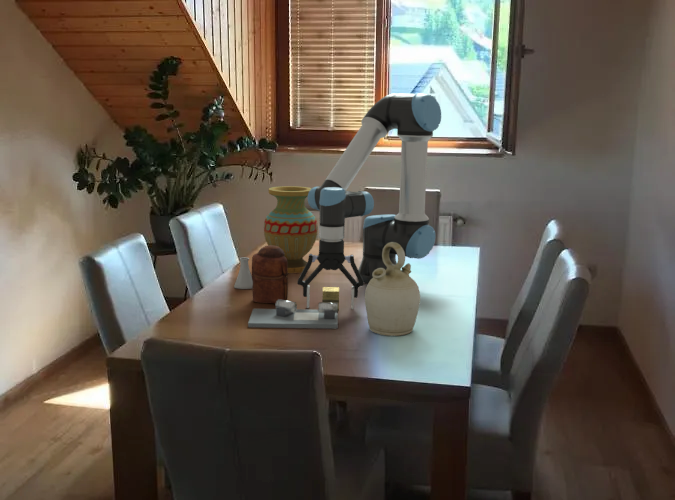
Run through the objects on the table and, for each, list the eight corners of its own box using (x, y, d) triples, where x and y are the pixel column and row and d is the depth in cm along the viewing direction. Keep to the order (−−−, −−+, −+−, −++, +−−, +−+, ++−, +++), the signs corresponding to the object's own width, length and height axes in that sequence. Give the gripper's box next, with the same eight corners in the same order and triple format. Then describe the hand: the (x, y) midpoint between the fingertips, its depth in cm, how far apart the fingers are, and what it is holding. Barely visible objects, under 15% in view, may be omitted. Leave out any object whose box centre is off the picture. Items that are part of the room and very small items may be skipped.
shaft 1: (298, 314, 211) (298, 300, 210) (290, 318, 207) (290, 304, 206) (282, 311, 213) (282, 297, 212) (274, 315, 210) (274, 301, 209)
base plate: (337, 313, 216) (337, 309, 216) (337, 328, 202) (337, 324, 202) (253, 312, 216) (253, 308, 215) (248, 327, 202) (248, 322, 202)
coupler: (338, 305, 224) (339, 287, 223) (338, 310, 219) (339, 291, 218) (322, 305, 224) (322, 286, 223) (322, 310, 219) (322, 291, 218)
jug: (379, 341, 193) (382, 249, 187) (354, 324, 206) (356, 238, 201) (429, 334, 199) (433, 245, 193) (402, 318, 212) (405, 235, 207)
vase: (308, 261, 283) (309, 185, 277) (323, 273, 264) (325, 191, 258) (258, 264, 277) (258, 186, 270) (270, 276, 258) (270, 193, 252)
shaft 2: (318, 318, 207) (318, 304, 206) (318, 314, 211) (318, 300, 210) (337, 319, 207) (337, 305, 206) (337, 314, 211) (337, 300, 210)
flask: (251, 290, 240) (251, 261, 238) (230, 289, 241) (230, 259, 239) (258, 285, 247) (258, 256, 245) (237, 283, 248) (237, 255, 246)
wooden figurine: (290, 299, 230) (290, 244, 226) (286, 305, 224) (287, 248, 220) (253, 297, 231) (253, 242, 227) (249, 303, 225) (249, 246, 221)
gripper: (372, 237, 221) (370, 304, 226) (290, 236, 221) (290, 303, 225) (373, 242, 214) (371, 311, 218) (289, 240, 214) (288, 310, 218)
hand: (330, 307), depth 222 cm, fingers open, 13 cm apart
